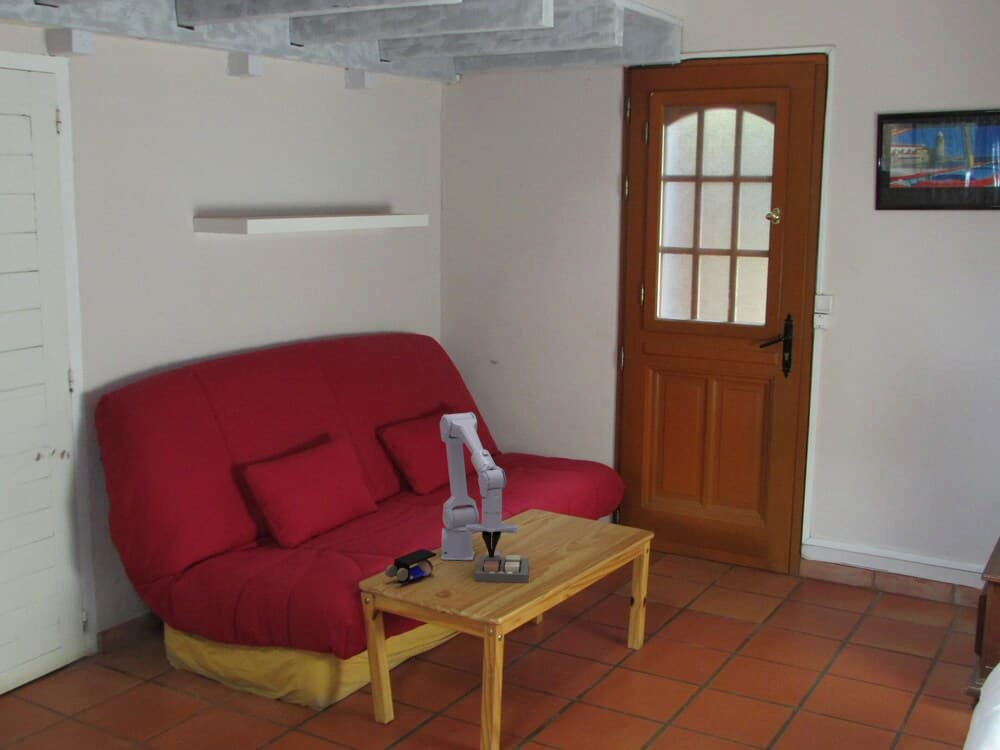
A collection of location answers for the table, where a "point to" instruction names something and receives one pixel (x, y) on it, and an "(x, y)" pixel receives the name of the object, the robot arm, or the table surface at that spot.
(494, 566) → the key terracotta
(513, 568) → the key cream
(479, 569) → the keypad bezel
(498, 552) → the key slate
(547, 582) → the table surface
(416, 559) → the black toy vehicle
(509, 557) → the key sage
